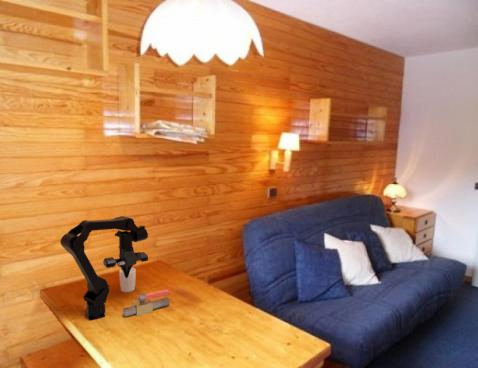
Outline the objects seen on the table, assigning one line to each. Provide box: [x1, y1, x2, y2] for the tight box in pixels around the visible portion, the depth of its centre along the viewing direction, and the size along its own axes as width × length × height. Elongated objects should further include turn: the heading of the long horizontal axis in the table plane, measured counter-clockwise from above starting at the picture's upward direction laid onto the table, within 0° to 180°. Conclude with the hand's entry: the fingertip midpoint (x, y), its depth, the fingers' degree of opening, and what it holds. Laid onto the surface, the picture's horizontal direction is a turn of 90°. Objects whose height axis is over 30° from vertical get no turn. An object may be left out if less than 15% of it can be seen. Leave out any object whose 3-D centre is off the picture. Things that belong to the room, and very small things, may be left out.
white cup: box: [118, 267, 137, 293], centre depth 183 cm, size 8×8×10 cm
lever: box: [138, 288, 170, 301], centre depth 164 cm, size 14×3×2 cm, turn 123°
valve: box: [122, 296, 171, 318], centre depth 163 cm, size 20×6×5 cm, turn 125°
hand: (126, 277), depth 168 cm, fingers closed
